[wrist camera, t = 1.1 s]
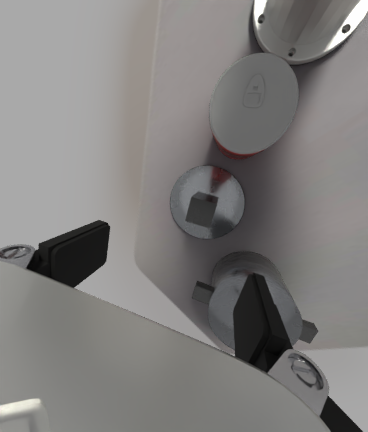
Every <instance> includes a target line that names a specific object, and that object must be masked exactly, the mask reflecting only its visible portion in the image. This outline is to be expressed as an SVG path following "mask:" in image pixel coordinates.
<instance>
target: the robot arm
mask: <svg viewBox="0 0 368 432" xmlns="http://www.w3.org/2000/svg"><path fill="white" fill-rule="evenodd" d="M367 12H368V0H254V7H253V28H254V33H255V37H256V39H257V41H258V44H259V46H260V47H261V48H262V50H263V51H264V52H265V53H270V54H273V55H276V56H278V57H280V58H282V59H283V60H284V61H286V62H287V63H288V64H289V65H291V64H304V63H308V62H312V61H314V60H317V59H319V58H321V57H323V56H325V55H326V54H328V53H330V52H331V51H333V50H334V49H335V48H336V47H338V46H339V45H340V44H341V43H343V42H344V41H345V40H346V39H347V37H348V36H349V35H350V34H351V33H352V32H353V31H354V30H355V29H356V27H357V26H358V25H359V24H360V23H361V21H362V20H363V19H364V17H365V15H366V14H367ZM260 23H261V24H260ZM289 55H291V57H290V56H289ZM109 232H110V226H109V225H108V223H106V222H104V221H101V220H98V221H95V222H93V223H90V224H88V225H85V226H83V227H80V228H78V229H75V230H72V231H70V232H67V233H65V234H62V235H60V236H57V237H55V238H52V239H50V240H47V241H44V242H42V243H39V249H38V250H36V251H35V248H34V247H32V246H29V245H22V244H20V245H11V246H7V247H4V248H1V249H0V432H363V431H362V430H361V429H360V428H359V427H358V426H357V425H356V424H355V423H354V422H353V421H352V420H351V419H350V418H349V417H348V416H347V415H346V414H345V413H344V412H343V411H342V410H341V409H340V407H339V406H337V404H335V402H334V401H333V400H332V399H331V398H330V397H329V396H328V393H329V386H328V382H327V380H326V378H325V376H324V374H323V373H322V371H321V370H320V369H319V367H318V366H317V365H316V364H315V363H314V362H313V361H312V360H311V359H310V358H309V357H307V356H306V355H305V354H303V353H301V352H299V351H297V350H294V349H293V347H292V345H291V342H290V339H289V337H288V334H287V332H286V329H285V326H284V324H283V321H282V319H281V316H280V313H279V311H278V308H277V306H276V305H275V304H274V301H273V299H272V296H271V293H270V291H269V288H268V285H267V283H266V280H265V277H264V276H263V275H260V274H257V273H252V274H249V275H248V277H247V279H246V282H245V284H244V286H243V288H242V291H241V293H240V295H239V298H238V300H237V302H236V305H235V307H234V310H233V325H234V342H235V356H232V355H230V354H228V353H226V352H224V351H222V350H219V349H217V348H215V347H212V346H210V345H208V344H205V343H203V342H201V341H199V340H196V339H194V338H191V337H189V336H187V335H184V334H182V333H180V332H177V331H175V330H172V329H170V328H168V327H165V326H163V325H161V324H159V323H156V322H154V321H152V320H149V319H147V318H145V317H142V316H140V315H137V314H135V313H133V312H130V311H128V310H126V309H123V308H120V307H118V306H116V305H114V304H111V303H109V302H106V301H104V300H101V299H99V298H97V297H94V296H92V295H90V294H87V293H85V292H82V291H80V290H77V289H75V288H74V287H75V286H77V285H78V284H79V283H81V282H82V281H83V280H84V279H86V278H87V277H88V276H90V275H91V274H92V273H94V272H95V271H96V270H97V269H99V268H100V267H101V266H103V265H104V263H105V262H106V258H107V250H108V241H109Z"/></svg>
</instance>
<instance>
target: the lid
mask: <svg viewBox="0 0 368 432" xmlns="http://www.w3.org/2000/svg"><path fill="white" fill-rule="evenodd" d="M244 202H245V200H244V194H243V191H242V188H241V186H240V184H239V183H238V181H237V180H236V179H235V178H234V177H233V176H232V175H231V174H230V173H229V172H227V171H225V170H223V169H221V168H218V167H214V166H200V167H196V168H193V169H191V170H189V171H187V172H186V173H184V174H183V175H182V176H181V177H180V178H179V179H178V180H177V182H176V183H175V185H174V187H173V189H172V192H171V197H170V207H171V212H172V215H173V217H174V219H175V221H176V222H177V224H178V225H179V226H180V227H181V228H182V229H183V230H184V231H185V232H187V233H188V234H190V235H192V236H195V237H198V238H203V239H212V238H217V237H221V236H223V235H225V234H227V233H228V232H230V231H231V230H232V229H233V228H235V226H236V225H237V224H238V222H239V221H240V219H241V217H242V215H243V211H244Z"/></svg>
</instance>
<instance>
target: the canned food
mask: <svg viewBox="0 0 368 432" xmlns="http://www.w3.org/2000/svg"><path fill="white" fill-rule="evenodd" d="M298 99H299V87H298V83H297V78H296V76H295V74H294V72H293V69H292V68H291V67H290V66H289V64H288V63H287V62H286V61H284V60H283V59H282V58H280V57H278V56H276V55H273V54H270V53H255V54H251V55H248V56H245V57H243V58H241V59H239V60H238V61H236V62H234V63H233V64H232V65H231V66H230V67H229V68H228V69H227V70H226V71H225V72H224V73H223V74H222V76H221V77H220V78H219V80H218V82H217V84H216V85H215V88H214V90H213V93H212V95H211V100H210V105H209V121H210V126H211V130H212V133H213V136H214V139H215V141H216V144H217V146H218V148H219V150H220V151H221V152H222V153H223V154H224V155H226V156H227V157H229V158H232V159H245V158H248V157H250V156H253V155H255V154H257V153H259V152H261V151H263V150H265V149H266V148H268V147H269V146H271V145H272V144H274V143H275V142H276V141H277V140H278V139H279V138H280V137H281V136H282V135H283V134H284V132H285V131H286V130H287V129H288V127H289V125H290V124H291V122H292V120H293V118H294V115H295V112H296V110H297V105H298Z"/></svg>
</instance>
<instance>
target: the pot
mask: <svg viewBox="0 0 368 432" xmlns="http://www.w3.org/2000/svg"><path fill="white" fill-rule="evenodd" d="M252 273H257V274H260V275H263V276H264V277H265V280H266V283H267V285H268V288H269V291H270V293H271V296H272V299H273V301H274V304H275V305H276V306H277V308H278V311H279V313H280V316H281V319H282V321H283V324H284V326H285V329H286V332H287V334H288V337H289V339H290V342H291V345H292V346H293V345H294V344H295V343H296V342H297V340H298V339H300V340H302V341H305V342H307V343H311V341H312V340H313V338H314V337H315V335H316V334H317V332H318V330H317V328H316V326H315V325H314V323H311V322H308V321H305V320H303V319H302V318H301V314H300V312H299V310H298V308H297V306H296V304H295V302H294V300H293V298H292V297H291V295H290V293H289V291H288V289H287V287H286V285H285V283H284V281H283V279H282V277H281V275H280V273H279V271H278V270H277V268H276V266H275V265H274V264H273V263H272V262H271V261H270V260H269V259H267V258H266V257H264V256H262V255H260V254H257V253H253V252H244V251H243V252H235V253H232V254H229V255H227V256H225V257H224V258H222V259H221V260H220V261H219V262H218V263H217V265H216V266H215V268H214V271H213V276H212V285H211V286H210V285H207V284H205V283H202V282H199V281H197V283H196V286H195V289H194V292H193V296H192V298H193V299H196V300H198V301H201V302H203V303H206V304H209V309H208V320H209V324H210V326H211V329H212V330H213V332H214V334H215V335H216V336H217V337H218V338H219V339H220V340H221V341H222V342H223V343H224V344H226V345H227V346H228V347H230V348H232V349H234V350H235V342H234V325H233V310H234V307H235V305H236V302H237V300H238V298H239V295H240V293H241V291H242V288H243V286H244V284H245V282H246V279H247V277H248V275H249V274H252Z"/></svg>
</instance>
